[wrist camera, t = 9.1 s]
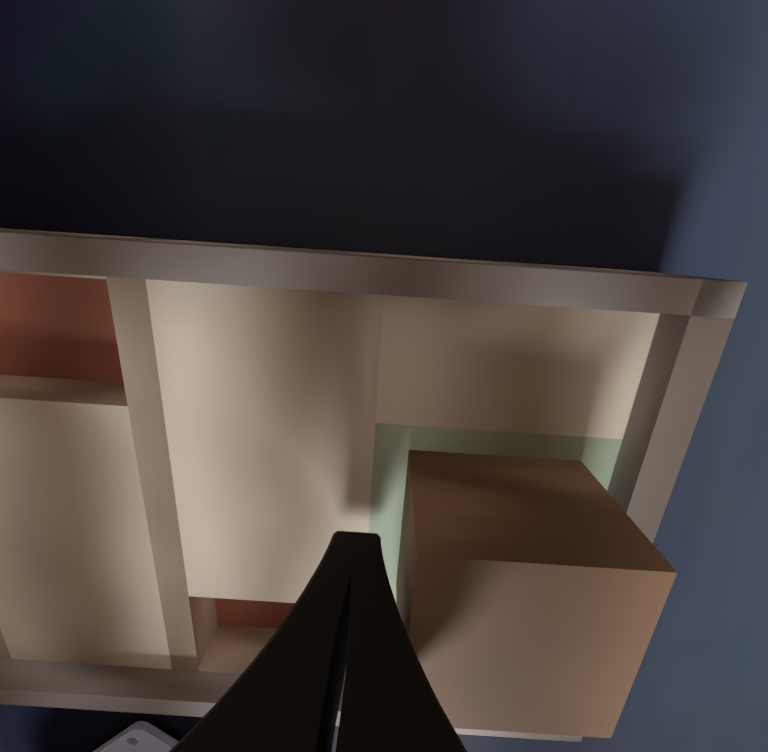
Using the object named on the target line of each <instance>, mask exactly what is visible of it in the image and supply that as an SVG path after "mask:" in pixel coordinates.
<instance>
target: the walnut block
mask: <svg viewBox="0 0 768 752" xmlns="http://www.w3.org/2000/svg"><path fill="white" fill-rule="evenodd" d="M676 574H677V572H676V571H675V569H674V568H673V567H672V566H671V565H670V564H669V562H668V561H667V560H666V559H665V558H664V557H663V556H662V554H661V553H660V552H659V551H658V550H657V549H656V547H655V546H654V545H653V544H652V543H651V542H650V540H649V539H648V538H647V537H646V536H645V535H644V533H643V532H642V531H641V530H640V529H639V528H638V526H637V525H636V524H635V523H634V522H633V521H632V519H631V518H630V517H629V516H628V515H627V514H626V512H625V511H624V510H623V509H622V508H621V507H620V505H619V504H618V503H617V502H616V501H615V500H614V498H613V497H612V496H611V495H610V494H609V493H608V492H607V490H606V489H605V488H604V487H603V486H602V485H601V483H600V482H599V481H598V480H597V479H596V478H595V476H594V475H593V474H592V473H591V472H590V471H589V469H588V468H587V467H586V466H585V465H584V464H583V462H582V461H573V460H557V459H542V458H527V457H511V456H496V455H481V454H465V453H450V452H435V451H419V450H409V452H408V463H407V474H406V484H405V495H404V505H403V516H402V527H401V537H400V548H399V558H398V569H397V580H396V605H397V608H398V610H399V613H400V616H401V619H402V621H403V624H404V626H405V629H406V631H407V634H408V637H409V639H410V641H411V644H412V646H413V649H414V651H415V653H416V655H417V658H418V660H419V662H420V664H421V666H422V668H423V671H424V673H425V675H426V677H427V679H428V681H429V683H430V685H431V687H432V689H433V691H434V693H435V695H436V697H437V699H438V701H439V703H440V705H441V707H442V708H443V710H444V712H445V714H446V715H447V717H448V719H449V721H450V723H451V724H452V726H453V728H459V729H475V730H491V731H506V732H522V733H538V734H553V735H569V736H585V737H601V738H611V737H612V734H613V732H614V729H615V727H616V724H617V722H618V719H619V717H620V714H621V712H622V709H623V707H624V704H625V702H626V699H627V697H628V694H629V692H630V689H631V687H632V684H633V682H634V679H635V677H636V674H637V672H638V669H639V667H640V664H641V662H642V659H643V657H644V654H645V652H646V649H647V647H648V644H649V642H650V639H651V637H652V634H653V632H654V629H655V627H656V624H657V622H658V619H659V617H660V614H661V612H662V609H663V607H664V604H665V602H666V599H667V597H668V594H669V592H670V589H671V587H672V584H673V582H674V579H675V577H676Z"/></svg>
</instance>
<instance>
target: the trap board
mask: <svg viewBox="0 0 768 752" xmlns="http://www.w3.org/2000/svg"><path fill="white" fill-rule="evenodd" d="M747 283H748V282H739V281H731V280H722V279H714V278H705V277H697V276H688V275H679V274H671V273H662V272H650V271H635V270H620V269H605V268H590V267H575V266H560V265H545V264H530V263H515V262H500V261H485V260H470V259H455V258H440V257H425V256H410V255H395V254H380V253H365V252H351V251H336V250H321V249H306V248H291V247H276V246H261V245H246V244H231V243H216V242H201V241H186V240H171V239H156V238H141V237H126V236H111V235H96V234H81V233H66V232H51V231H37V230H22V229H7V228H0V704H9V705H24V706H39V707H55V708H70V709H85V710H100V711H116V712H131V713H146V714H161V715H177V716H192V717H203V716H204V715H205V714H206V713H207V712H208V711H209V710H210V709H211V708H212V707H213V706H214V705H215V704H216V703H217V702H218V700H219V699H220V698H221V697H222V696H223V695H224V694H225V693H226V692H227V690H228V689H229V688H230V687H231V686H232V685H233V683H234V682H235V681H236V680H237V679H238V678H239V676H240V675H241V674H242V673H243V672H244V671H245V669H246V668H247V667H248V666H249V665H250V664H251V662H252V661H253V660H254V659H255V657H256V656H257V655H258V654H259V652H260V651H261V650H262V649H263V647H264V646H265V645H266V643H267V642H268V641H269V639H270V638H271V637H272V635H273V634H274V633H275V631H276V630H277V629H278V627H279V626H280V625H281V623H282V622H283V620H284V619H285V617H286V616H287V614H288V613H289V611H290V610H291V609H292V607H293V606H294V604H295V603H296V601H297V600H298V598H299V597H300V595H301V594H302V592H303V590H304V589H305V587H306V585H307V584H308V582H309V580H310V579H311V577H312V575H313V574H314V572H315V570H316V569H317V567H318V565H319V563H320V561H321V559H322V558H323V556H324V554H325V552H326V550H327V548H328V545H329V543H330V541H331V538H332V536H333V534H334V533H335V532H336V531H348V532H364V533H377V534H378V535H379V536H380V537H381V548H382V554H383V559H384V564H385V568H386V572H387V576H388V579H389V583H390V586H391V589H392V592H393V595H394V599H395V602H396V580H397V569H398V558H399V548H400V537H401V527H402V516H403V505H404V495H405V484H406V474H407V463H408V452H409V450H419V451H435V452H450V453H465V454H481V455H496V456H511V457H527V458H542V459H557V460H573V461H582V462H583V464H584V465H585V466H586V467H587V468H588V469H589V471H590V472H591V473H592V474H593V475H594V476H595V478H596V479H597V480H598V481H599V482H600V483H601V485H602V486H603V487H604V488H605V489H606V490H607V492H608V493H609V494H610V495H611V496H612V497H613V498H614V500H615V501H616V502H617V503H618V504H619V505H620V507H621V508H622V509H623V510H624V511H625V512H626V514H627V515H628V516H629V517H630V518H631V519H632V521H633V522H634V523H635V524H636V525H637V526H638V528H639V529H640V530H641V531H642V532H643V533H644V535H645V536H646V537H647V538H648V539H649V540H650V542H651V543H652V544H653V542H654V539H655V536H656V533H657V531H658V528H659V525H660V522H661V520H662V517H663V514H664V511H665V509H666V506H667V503H668V500H669V498H670V495H671V492H672V489H673V487H674V484H675V481H676V478H677V476H678V473H679V470H680V467H681V465H682V462H683V459H684V456H685V454H686V451H687V448H688V445H689V443H690V440H691V437H692V434H693V432H694V429H695V426H696V423H697V421H698V418H699V415H700V412H701V410H702V407H703V404H704V401H705V399H706V396H707V393H708V390H709V388H710V385H711V382H712V379H713V377H714V374H715V371H716V368H717V366H718V363H719V360H720V357H721V355H722V352H723V349H724V346H725V344H726V341H727V338H728V335H729V333H730V330H731V327H732V324H733V322H734V319H735V316H736V313H737V311H738V308H739V305H740V302H741V300H742V297H743V294H744V291H745V289H746V286H747ZM346 666H347V665H346ZM345 674H346V671H345ZM344 682H345V676H344ZM344 682H343V687H342V692H341V698H340V703H339V709H338V714H337V720H336V725H335V726H339V723H340V715H341V707H342V698H343V690H344ZM454 730H455V731H456V733H457V734H466V735H482V736H497V737H512V738H527V739H542V740H558V741H573V742H581V740H582V737H583V736H569V735H553V734H538V733H522V732H506V731H491V730H475V729H459V728H454Z"/></svg>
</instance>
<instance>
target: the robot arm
mask: <svg viewBox="0 0 768 752" xmlns="http://www.w3.org/2000/svg"><path fill="white" fill-rule="evenodd" d="M346 665H347V666H346ZM345 671H346V674H345ZM344 676H345V682H344ZM343 682H344V690H343V698H342V707H341V715H340V723H339V731H338V738H337V746H336V752H467V751H466V749H465V747H464V746H463V744H462V742H461V740H460V739H459V737H458V735H457V733H456V731H455V730H454V728H453V726H452V724H451V723H450V721H449V719H448V717H447V715H446V714H445V712H444V710H443V708H442V707H441V705H440V703H439V701H438V699H437V697H436V695H435V693H434V691H433V689H432V687H431V685H430V683H429V681H428V679H427V677H426V675H425V673H424V671H423V668H422V666H421V664H420V662H419V660H418V658H417V655H416V653H415V651H414V649H413V646H412V644H411V641H410V639H409V637H408V634H407V631H406V629H405V626H404V624H403V621H402V619H401V616H400V613H399V610H398V608H397V605H396V602H395V599H394V595H393V592H392V589H391V586H390V583H389V579H388V576H387V572H386V568H385V564H384V559H383V554H382V548H381V537H380V536H379V535H378V534H377V533H364V532H348V531H336V532H335V533H334V534H333V536H332V538H331V541H330V543H329V545H328V548H327V550H326V552H325V554H324V556H323V558H322V559H321V561H320V563H319V565H318V567H317V569H316V570H315V572H314V574H313V575H312V577H311V579H310V580H309V582H308V584H307V585H306V587H305V589H304V590H303V592H302V594H301V595H300V597H299V598H298V600H297V601H296V603H295V604H294V606H293V607H292V609H291V610H290V611H289V613H288V614H287V616H286V617H285V619H284V620H283V622H282V623H281V625H280V626H279V627H278V629H277V630H276V631H275V633H274V634H273V635H272V637H271V638H270V639H269V641H268V642H267V643H266V645H265V646H264V647H263V649H262V650H261V651H260V652H259V654H258V655H257V656H256V657H255V659H254V660H253V661H252V662H251V664H250V665H249V666H248V667H247V668H246V669H245V671H244V672H243V673H242V674H241V675H240V676H239V678H238V679H237V680H236V681H235V682H234V683H233V685H232V686H231V687H230V688H229V689H228V690H227V692H226V693H225V694H224V695H223V696H222V697H221V698H220V699H219V700H218V702H217V703H216V704H215V705H214V706H213V707H212V708H211V709H210V710H209V711H208V712H207V713H206V714H205V715H204V716H203V717H202V718H201V720H200V721H199V722H198V723H197V724H196V725H195V726H194V727H193V728H192V729H191V730H190V731H189V732H188V733H187V734H186V735H185V736H184V737H183V738H182V739H181V740H180V741H177V740H176V739H174V738H173V737H171V736H170V735H168V734H166V733H165V732H163V731H162V730H160V729H158V728H157V727H155V726H154V725H152V724H150V723H149V722H146V721H138V722H135V723H134V724H132V725H131V726H129V727H128V728H126V729H125V730H123V731H122V732H121V733H119V734H118V735H116V736H115V737H113V738H112V739H110V740H109V741H107V742H106V743H104V744H103V745H102V746H100V747H99V748H97V749H96V750H94V751H93V752H331V751H332V745H333V738H334V731H335V725H336V720H337V714H338V709H339V703H340V698H341V692H342V687H343Z"/></svg>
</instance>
